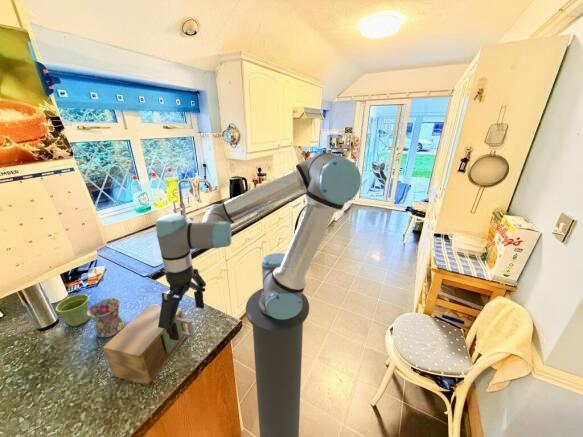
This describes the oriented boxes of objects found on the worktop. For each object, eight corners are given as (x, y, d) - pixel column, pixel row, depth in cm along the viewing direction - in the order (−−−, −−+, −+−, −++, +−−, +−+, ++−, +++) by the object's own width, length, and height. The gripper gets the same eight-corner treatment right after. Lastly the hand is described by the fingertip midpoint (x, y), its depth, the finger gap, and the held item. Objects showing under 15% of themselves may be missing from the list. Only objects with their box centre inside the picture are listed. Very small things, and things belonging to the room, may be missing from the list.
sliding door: (198, 338, 82) (194, 317, 78) (184, 357, 75) (179, 335, 71) (181, 335, 83) (177, 313, 79) (166, 353, 76) (161, 331, 73)
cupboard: (187, 335, 84) (181, 309, 80) (148, 385, 68) (139, 356, 63) (157, 329, 87) (151, 303, 82) (113, 376, 70) (102, 347, 66)
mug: (103, 322, 89) (94, 300, 85) (130, 318, 92) (123, 296, 88) (86, 349, 79) (76, 325, 75) (118, 343, 81) (109, 320, 77)
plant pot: (56, 330, 86) (47, 311, 82) (77, 311, 94) (70, 294, 91) (82, 330, 86) (75, 311, 83) (101, 311, 95) (95, 293, 92)
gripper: (192, 245, 81) (199, 295, 89) (132, 291, 58) (149, 352, 66) (212, 248, 80) (217, 298, 87) (158, 296, 57) (172, 358, 65)
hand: (188, 321), depth 77 cm, fingers open, 13 cm apart
